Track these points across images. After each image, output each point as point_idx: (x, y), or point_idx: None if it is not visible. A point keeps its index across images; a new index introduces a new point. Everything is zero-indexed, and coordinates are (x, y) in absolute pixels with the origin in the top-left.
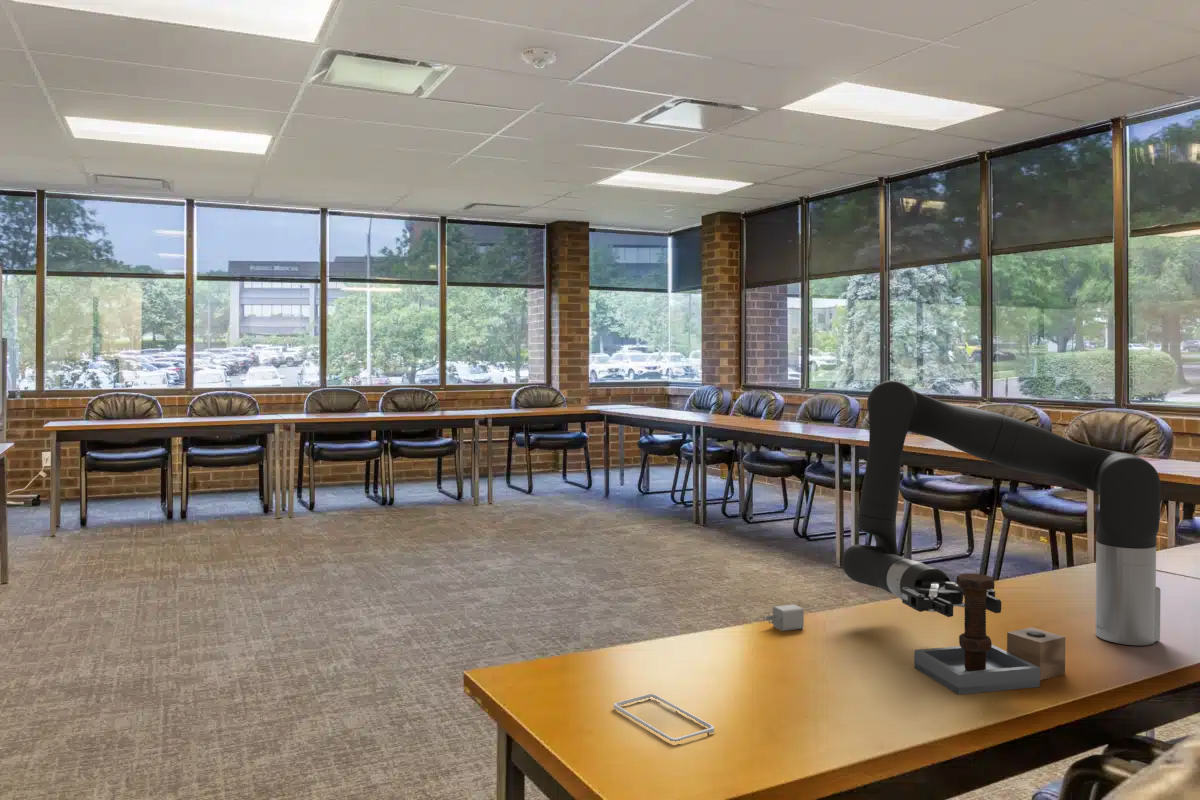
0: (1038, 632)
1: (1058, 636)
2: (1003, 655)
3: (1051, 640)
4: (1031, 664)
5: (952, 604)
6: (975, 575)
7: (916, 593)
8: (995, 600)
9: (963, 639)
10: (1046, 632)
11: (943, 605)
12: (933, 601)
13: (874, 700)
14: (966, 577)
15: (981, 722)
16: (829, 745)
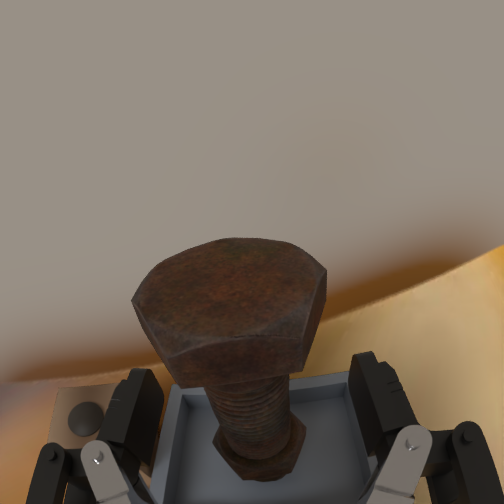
0: (72, 420)
1: (64, 394)
2: (170, 468)
3: (95, 385)
4: (172, 399)
5: (355, 354)
6: (198, 293)
7: (477, 476)
8: (146, 374)
9: (303, 425)
10: (56, 419)
11: (387, 364)
12: (413, 415)
13: (474, 362)
14: (283, 267)
15: (353, 316)
16: (489, 278)
